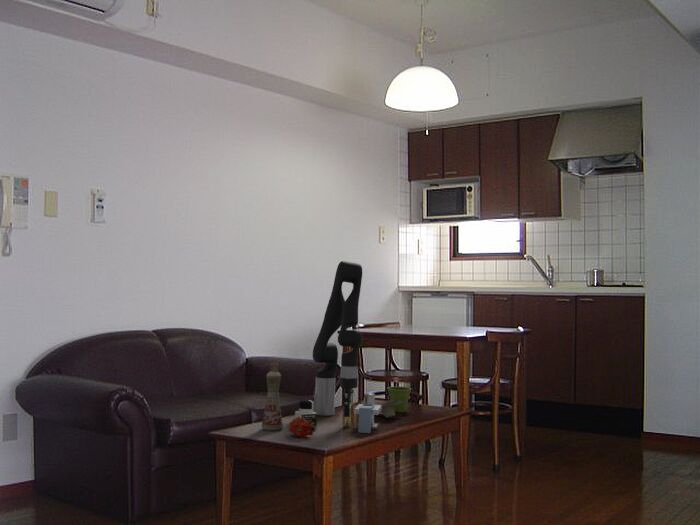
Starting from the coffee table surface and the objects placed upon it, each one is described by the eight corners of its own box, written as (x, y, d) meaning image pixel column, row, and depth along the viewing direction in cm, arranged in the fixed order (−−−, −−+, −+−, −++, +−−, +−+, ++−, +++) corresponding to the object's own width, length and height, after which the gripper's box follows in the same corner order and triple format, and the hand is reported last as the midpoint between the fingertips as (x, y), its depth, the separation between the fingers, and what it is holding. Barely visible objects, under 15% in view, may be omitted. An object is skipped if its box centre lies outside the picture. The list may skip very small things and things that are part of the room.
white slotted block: (370, 428, 366) (394, 409, 362) (360, 412, 370) (384, 393, 366) (386, 429, 380) (410, 410, 376) (377, 413, 384) (400, 395, 380)
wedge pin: (344, 426, 347) (345, 396, 347) (345, 425, 350) (345, 395, 350) (350, 426, 347) (350, 396, 347) (350, 425, 349) (351, 395, 349)
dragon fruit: (288, 438, 326) (312, 446, 319) (280, 428, 320) (304, 437, 313) (298, 420, 330) (322, 428, 323) (290, 410, 323) (314, 418, 317)
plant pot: (381, 411, 391) (382, 387, 391) (396, 408, 400) (397, 385, 400) (401, 414, 384) (401, 390, 384) (415, 411, 393) (416, 388, 393)
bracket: (358, 432, 334) (359, 407, 334) (362, 427, 346) (362, 403, 346) (370, 433, 333) (371, 408, 334) (373, 428, 345) (374, 404, 346)
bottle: (286, 428, 338) (288, 361, 338) (276, 432, 330) (278, 363, 330) (268, 426, 341) (270, 360, 342) (257, 430, 333) (259, 362, 334)
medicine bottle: (301, 431, 334) (302, 402, 334) (294, 428, 340) (295, 399, 340) (316, 430, 337) (317, 401, 337) (309, 427, 343) (310, 398, 344)
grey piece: (353, 430, 339) (354, 396, 339) (358, 424, 353) (359, 392, 353) (377, 431, 337) (378, 398, 337) (381, 425, 351) (382, 393, 352)
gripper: (343, 374, 356) (341, 412, 356) (337, 378, 342) (336, 417, 342) (359, 375, 355) (358, 413, 355) (355, 378, 341) (354, 418, 340)
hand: (347, 415), depth 348 cm, fingers open, 6 cm apart
